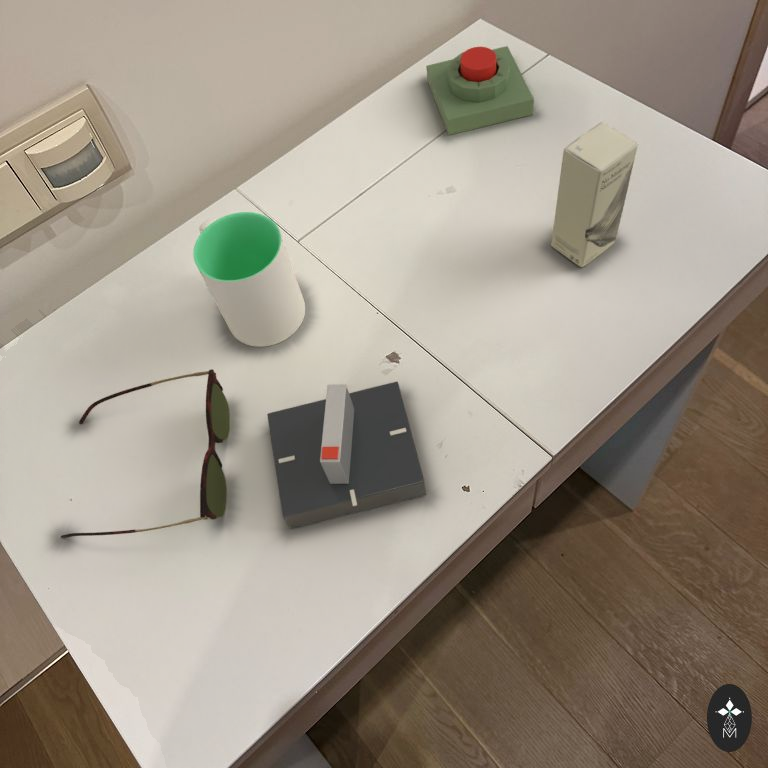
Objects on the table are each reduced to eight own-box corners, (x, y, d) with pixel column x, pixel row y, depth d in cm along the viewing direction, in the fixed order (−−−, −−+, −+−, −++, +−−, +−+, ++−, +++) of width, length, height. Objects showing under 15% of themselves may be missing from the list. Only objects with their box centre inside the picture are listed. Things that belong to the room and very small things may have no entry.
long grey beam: (336, 409, 66) (326, 382, 62) (354, 409, 66) (345, 382, 61) (329, 484, 62) (319, 460, 58) (348, 483, 62) (339, 460, 58)
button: (490, 56, 86) (490, 43, 85) (500, 78, 84) (500, 64, 83) (456, 64, 86) (456, 51, 85) (466, 86, 84) (465, 73, 83)
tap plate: (399, 391, 69) (396, 374, 67) (428, 501, 64) (426, 487, 61) (274, 422, 69) (265, 406, 67) (292, 535, 64) (283, 523, 61)
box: (581, 270, 74) (598, 174, 63) (549, 246, 76) (560, 148, 65) (618, 241, 75) (641, 142, 64) (585, 218, 77) (602, 118, 66)
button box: (507, 61, 91) (507, 32, 88) (532, 114, 86) (534, 85, 82) (427, 81, 91) (425, 52, 87) (448, 135, 86) (446, 106, 82)
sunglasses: (225, 536, 64) (202, 516, 60) (67, 558, 66) (33, 540, 62) (231, 392, 72) (211, 365, 67) (88, 415, 74) (60, 391, 69)
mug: (191, 293, 78) (153, 225, 69) (251, 249, 80) (222, 178, 72) (258, 360, 73) (227, 296, 64) (321, 311, 75) (299, 243, 66)
